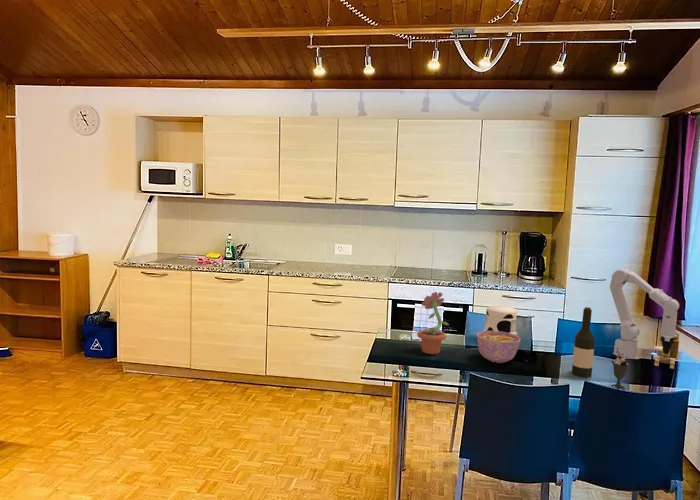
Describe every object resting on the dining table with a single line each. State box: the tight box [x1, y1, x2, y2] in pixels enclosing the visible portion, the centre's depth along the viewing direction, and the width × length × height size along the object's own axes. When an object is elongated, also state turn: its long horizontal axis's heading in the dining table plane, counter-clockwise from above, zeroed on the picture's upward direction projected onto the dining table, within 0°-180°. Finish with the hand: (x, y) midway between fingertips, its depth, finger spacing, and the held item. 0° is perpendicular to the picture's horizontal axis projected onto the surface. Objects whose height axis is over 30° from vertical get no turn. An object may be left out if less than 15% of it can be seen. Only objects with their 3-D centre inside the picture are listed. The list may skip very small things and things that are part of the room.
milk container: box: [482, 305, 518, 336], centre depth 282 cm, size 17×17×18 cm
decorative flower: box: [416, 291, 450, 355], centre depth 257 cm, size 15×14×30 cm
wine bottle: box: [571, 306, 596, 379], centre depth 234 cm, size 8×8×30 cm
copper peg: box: [662, 351, 670, 358], centre depth 254 cm, size 3×3×7 cm
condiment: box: [669, 332, 681, 360], centre depth 269 cm, size 7×8×12 cm
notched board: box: [653, 354, 676, 370], centre depth 256 cm, size 10×8×2 cm
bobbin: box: [652, 345, 663, 360], centre depth 264 cm, size 6×6×6 cm
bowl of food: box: [476, 330, 521, 364], centre depth 250 cm, size 20×20×12 cm
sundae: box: [611, 350, 630, 390], centre depth 221 cm, size 7×7×15 cm
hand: (665, 352), depth 254 cm, fingers closed on copper peg, 3 cm apart
